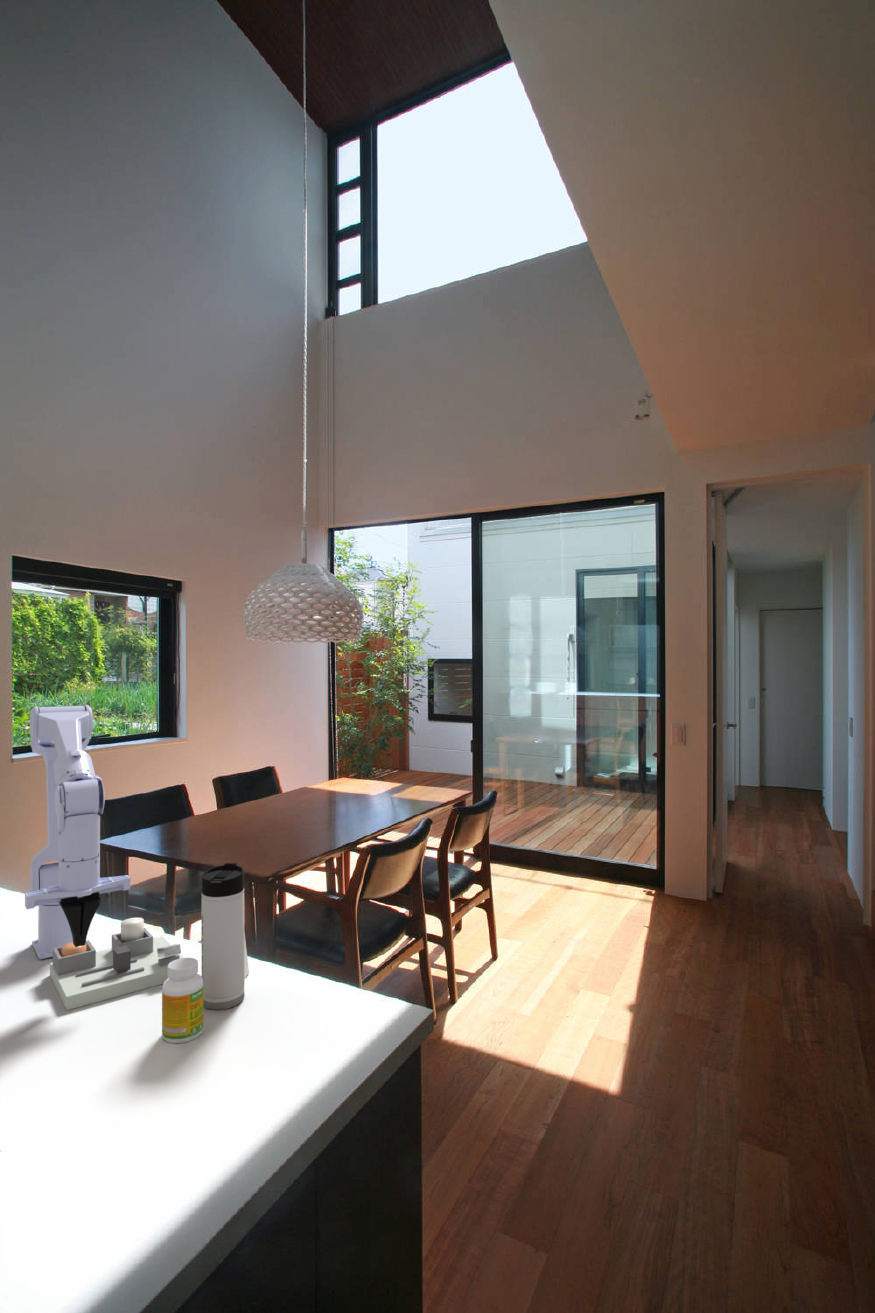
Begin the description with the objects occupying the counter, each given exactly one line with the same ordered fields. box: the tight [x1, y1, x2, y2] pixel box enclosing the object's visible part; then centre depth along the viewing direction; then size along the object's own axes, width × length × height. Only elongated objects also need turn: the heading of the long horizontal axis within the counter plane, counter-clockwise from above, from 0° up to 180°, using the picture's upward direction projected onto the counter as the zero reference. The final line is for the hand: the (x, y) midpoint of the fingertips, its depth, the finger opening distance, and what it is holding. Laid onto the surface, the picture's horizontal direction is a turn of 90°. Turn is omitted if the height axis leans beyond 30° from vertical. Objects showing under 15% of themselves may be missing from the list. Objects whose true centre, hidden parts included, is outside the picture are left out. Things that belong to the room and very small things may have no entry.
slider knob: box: [113, 946, 131, 973], centre depth 110 cm, size 3×2×3 cm
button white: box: [120, 917, 145, 943], centre depth 118 cm, size 4×4×3 cm
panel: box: [49, 927, 184, 1011], centre depth 113 cm, size 15×18×5 cm
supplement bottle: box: [161, 957, 204, 1044], centre depth 94 cm, size 5×5×10 cm
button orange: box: [62, 942, 86, 957], centre depth 112 cm, size 4×4×3 cm
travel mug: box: [200, 862, 245, 1011], centre depth 104 cm, size 6×7×20 cm
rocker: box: [157, 943, 182, 957], centre depth 113 cm, size 4×3×1 cm, turn 38°
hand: (79, 944), depth 106 cm, fingers closed
